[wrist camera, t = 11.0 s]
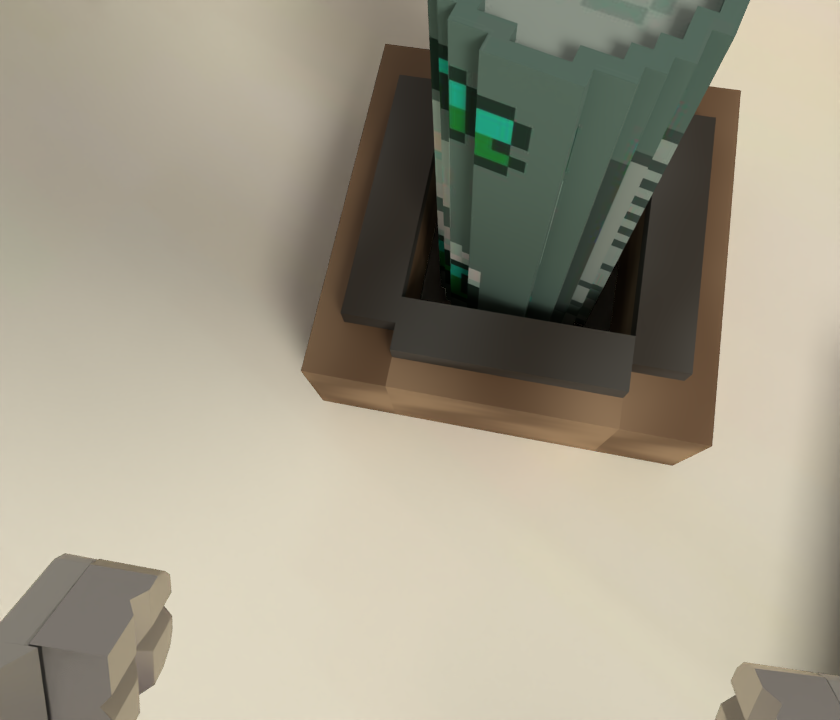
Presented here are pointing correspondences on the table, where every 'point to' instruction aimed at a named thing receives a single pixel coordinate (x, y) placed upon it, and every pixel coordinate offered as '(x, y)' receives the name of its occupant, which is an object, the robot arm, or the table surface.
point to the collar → (518, 336)
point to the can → (558, 137)
